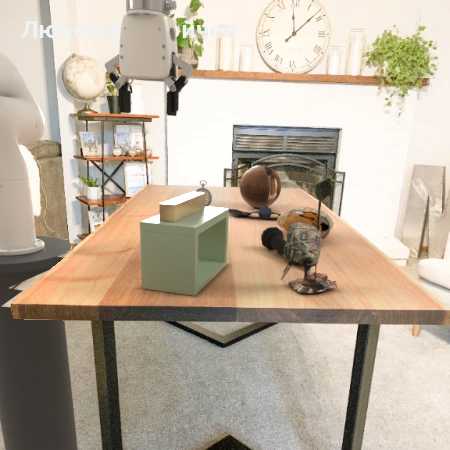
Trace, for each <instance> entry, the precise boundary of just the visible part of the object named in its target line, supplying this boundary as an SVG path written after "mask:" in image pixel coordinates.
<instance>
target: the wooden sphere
mask: <svg viewBox="0 0 450 450" xmlns="http://www.w3.org/2000/svg"><path fill="white" fill-rule="evenodd" d="M281 192H282V181H281V178H280V176H279V174H278V173H277V171H276V170H274V169H273V168H272V167H270V166H267V165H263V164H259V165H254V166H252V167H250V168H248V169H247V170H246V171H245V172H244V173H243V175H242V176H241V178H240V182H239V193H240V196H241V198H242V199H243V201H244V202H245V203H246V204H247V205H249V206H250V207H253V208H256V209H260V207H263V206H264V205H266V206H267V207H271V205H273V204H274V203H275V202H276V201H277V200H278V199H279V197H280V194H281Z"/></svg>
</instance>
